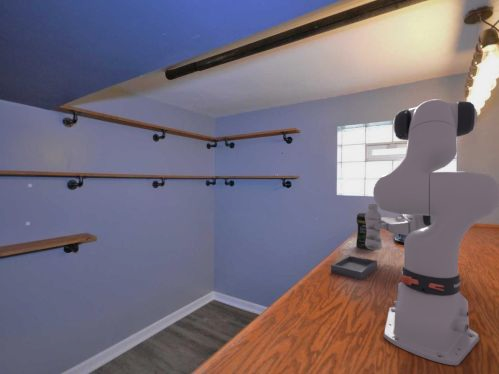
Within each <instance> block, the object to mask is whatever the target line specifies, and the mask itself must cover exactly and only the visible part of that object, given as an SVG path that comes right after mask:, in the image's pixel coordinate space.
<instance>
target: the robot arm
mask: <svg viewBox="0 0 499 374" xmlns="http://www.w3.org/2000/svg"><path fill="white" fill-rule="evenodd" d="M477 111H478V110H477V109H476V108H475V105H474V104H473V103H472V102H470V101H457V102H447V101H445V100H442V99H430V100H426V101H424V102H422V103H420V104H419V105H418V106H415V107H412V108H408V107H407V108H404V109H402V110H400V111H397V113H396V114H395V117H394V118H393V122H392V129H393V133H394V134H395V137H396V138H397V139H399V140H402V141H407V144H406V152H405V155H404V157H403V159H402V161H401V162H400V163H398V165H397V166H396V167H395V168H394V169H392V170H391V171H389V172H388V173H386V174H385V175H382V176H380V178H378V179H377V181H376V183H375V184H374V187H373V192H372V193H373V200H374V202H375V204H377V205H378V209H380V210H382V211H384V212H385V211H386V212H389V213H394V214H397V215H398V214H399V215H398V216H397V217H395V218H394V217H389V216H388V217H387V216H386V217H383V216H381V224H378V223H374V224H373V227H374V228H380V230H381V229H382V230H386V231H387V232H389V233H392V234H399V235H402V236H405V237H404V242H403V243H404V244H403V245H404V251H403V252H404V253H403V254H404V255H403V256H404V258H403V260H404V261H403V262H404V264H403V265H402V269H401V281H400V282H399V283H397V294H396V300H394V301H393V303H392V304H393V306H391V307H388V313H387V315H386V316H387V317H386V322H385V326H384V332H383V338H385V340H387V341H389V342H390V343H391V344H393V345H394V346H396V347H399V348H401V349H402V350H404V351H406V352H409V353H411V354H413V355H416V356H418V357H421V358H424V359H427V360H429V361H433V362H436V363H440V364H444V365H450V366H458V365H460V363H461V362H462V361H463V360H464V359H465V358H466V356H467V355H468V354H469V353H470V352H471V351H472V349H473V348H474V347H475V346H476V345H477V343H478V342H479V341H480V337H479V334H478V333H477V332H475V331H473V330H472V329H470V323H469V317H470V316H469V301H468V300H467V299H466V298H465V296H463V295H462V293H461V292H460V290H461V284H462V283H461V281H462V279H461V275H460V273H458V271H459V269H458V267H459V265H458V264H459V254H460V247H461V243H462V240H463V238H464V236H465V234H466V233H467V232H468V231H469V230H470V228H471V227H473V226H474V225H475V224H476V223H478V222H479V221H481V220H482V219H484V218H486V217H489V216H491V215H492V214H493V213H495V211H497V210H498V208H499V183H498V181H497V180H496V179H495V178H494V177H493V176H491V175H490V174H486V173H478V172H469V171H439V170H441V169H443V168H445V167H446V166H447V167H448V165H449V164H450V163H451V162H452V161H453V160H454V159H455V158H456V157H457V152H458V148H457V147H458V146H457V144H458V143H457V142H458V141H457V137H462V136H466V135H468V134H470V133H471V132H472V131H473V130H474V128H475V126H476V124H477V122H478V116H479V115H478V112H477Z"/></svg>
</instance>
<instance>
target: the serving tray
mask: <svg viewBox="0 0 499 374" xmlns="http://www.w3.org/2000/svg"><path fill="white" fill-rule="evenodd" d="M377 269H378V260H375V259H369V258H364V257H360V256H356V255H355V256H354V255H350V254H349V255H346V256H345V257H342V259H340V260H337V261H336V262H334V263H332V264H331V265H330V272H331V273H333V274H336V275H340V276H344V277H347V278H351V279H356V280H359V281H363V279H365V278H366V277H368V276H369V275H370V274H371V273H373V272H374V271H376V270H377Z"/></svg>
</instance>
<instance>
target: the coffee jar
mask: <svg viewBox="0 0 499 374" xmlns="http://www.w3.org/2000/svg"><path fill="white" fill-rule="evenodd" d="M366 213H367V212H365V213H364V212H360V213H358V214H357V215H356V223H357V236H356V242H355V243H356V245H355V246H356V247H357V248H359V249H363V250H371V249H368V248H367V247H366V245H365V241H366V233H367V230H366V229H367V228H366V221H365V214H366Z"/></svg>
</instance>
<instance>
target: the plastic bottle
mask: <svg viewBox="0 0 499 374" xmlns="http://www.w3.org/2000/svg"><path fill="white" fill-rule="evenodd" d="M367 207H368V210H367V211H366V212H365V213H366V214H365V221H366V228H367V229H366V230H367V233H366V241H365V245H366V247H367V248H368V249H367V250H369V249H371V250H372V251H379V250H381V249H382V247H383V242H382V238H381V228H374V227H373V224H374V223H378V224H381V217H382V214H381V213H380V212H379V210H378V209H379V206H378V205H377V204H376V203H368V205H367Z"/></svg>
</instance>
